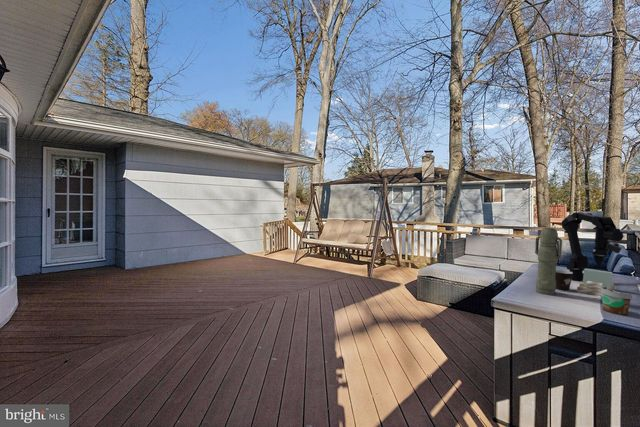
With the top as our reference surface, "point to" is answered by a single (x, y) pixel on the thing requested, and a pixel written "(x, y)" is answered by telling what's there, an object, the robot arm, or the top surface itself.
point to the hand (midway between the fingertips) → (599, 265)
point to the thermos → (547, 260)
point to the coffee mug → (563, 279)
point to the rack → (591, 291)
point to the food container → (615, 301)
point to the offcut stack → (594, 285)
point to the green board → (598, 277)
